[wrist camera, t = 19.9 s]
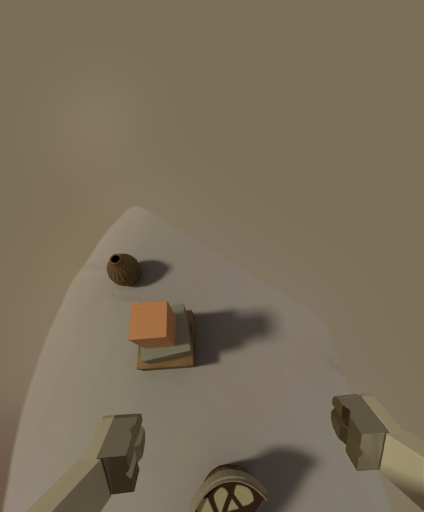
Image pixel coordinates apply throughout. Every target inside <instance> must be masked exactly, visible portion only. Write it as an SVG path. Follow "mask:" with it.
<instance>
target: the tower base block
mask: <svg viewBox="0 0 424 512" xmlns="http://www.w3.org/2000/svg"><path fill="white" fill-rule="evenodd" d="M186 312H187V318H188V324H189V330H190V336H191V343H192V349H193V354H191V355H187V356H182V357H178V358H174V359H170V360H165V361H161V362H157V363H152V364H147V363H144V362H141V347H140V346H139V350H138V361H137V370H143V371H148V370H162V369H176V368H190V367H195V342H194V315H193V312H192V310H187V311H186Z"/></svg>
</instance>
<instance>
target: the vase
mask: <svg viewBox="0 0 424 512" xmlns="http://www.w3.org/2000/svg"><path fill="white" fill-rule="evenodd" d="M107 273H108V276H109V278H110V279H111V280H112V281H113V282H114V283H116V284H118V285H121V286H129V285H132V284H134V283H135V282H136V281H137V280H138V279H139V277H140V273H141V268H140V265H139V263H138V261H137V260H136V259H135V258H134V257H132V256H131V255H128V254H114V255H112V256H111V257H110V260H109V262H108V264H107Z"/></svg>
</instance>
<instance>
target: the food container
mask: <svg viewBox="0 0 424 512" xmlns="http://www.w3.org/2000/svg"><path fill="white" fill-rule="evenodd" d="M263 497H264V498H263ZM267 497H268V493H267V489H266V488H265V487H264V486H263V485H262V484H261V483H260V482H259V481H258V480H257V479H256V478H254V477H253V476H251V475H250V474H248V473H246V472H245V471H244V470H242V469H241V468H239V467H238V466H234V465H230V464H226V465H221V466H218V467H216V468H215V469H213V470H212V471H211V472H210V473H209V474H208V476H207V477H206V479H205V481H204V483H203V484H202V485H201V486H200V488H199V489H198V491H197V492H196V494H195V496H194V498H193V500H192V502H191V504H190V507H189V510H188V512H255V510H256V509H257V508H258V506H259V505H260V503H261V502H262V501H263V499H265V500H266V501H267Z"/></svg>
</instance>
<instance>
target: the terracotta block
mask: <svg viewBox="0 0 424 512" xmlns="http://www.w3.org/2000/svg"><path fill="white" fill-rule="evenodd" d="M175 338H176V316H175V314H174V312H173V310H172V309H171V307H170V305H169V303H168V302H167V301H161V302H148V303H135V304H132V313H131V322H130V332H129V340H130V341H131V342H133V343H135V344H137V345H139V346H141V347H143V348H145V349H147V348H159V347H171V346H175Z"/></svg>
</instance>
